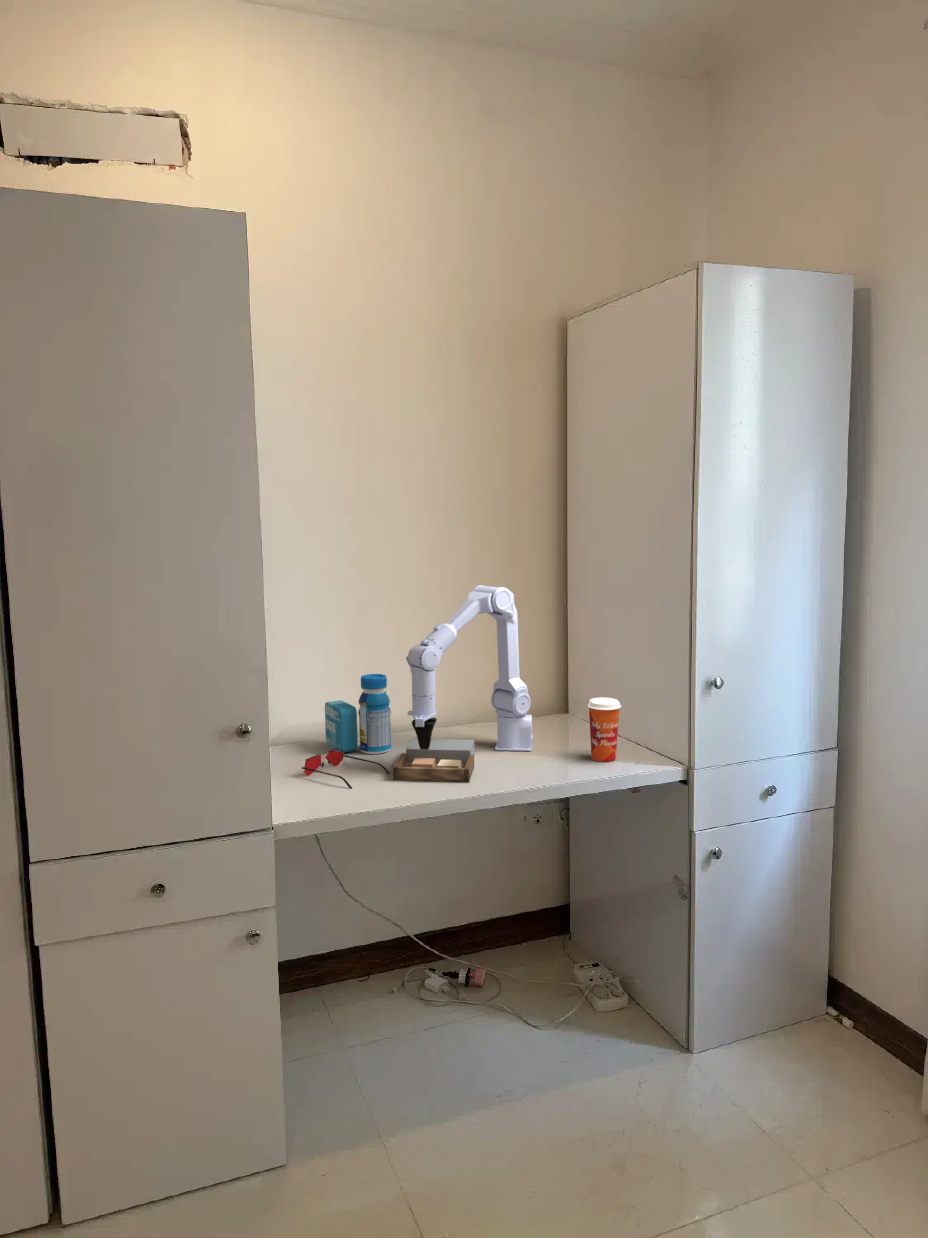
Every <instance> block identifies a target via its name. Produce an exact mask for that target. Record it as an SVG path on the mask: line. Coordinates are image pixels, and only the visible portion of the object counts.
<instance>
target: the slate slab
mask: <svg viewBox="0 0 928 1238" xmlns="http://www.w3.org/2000/svg"><path fill="white" fill-rule="evenodd" d="M405 753H407V763H413V761H414V759H415V758H435V763H439V762H440V760H461V764H466V763H467V760H468V757H469V755H474V756H475V739H463V738H462V739H453V738H452V739H450V738H449V739H448V738H431V742H430V747H429V749H420V747H419V743H418V738H412V739H411V741H410V743H409V744H408V745H407V747H406V749H405Z"/></svg>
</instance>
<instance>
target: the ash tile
mask: <svg viewBox="0 0 928 1238" xmlns="http://www.w3.org/2000/svg"><path fill="white" fill-rule="evenodd" d="M437 768H461V760H440V762H439V763H438V765H437Z"/></svg>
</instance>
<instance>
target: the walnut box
mask: <svg viewBox="0 0 928 1238" xmlns="http://www.w3.org/2000/svg"><path fill="white" fill-rule="evenodd" d="M437 765H438V763H435V768H434V767H412V763H407V753H406V752H405V753H403V752H402V753H401V754H400V755H399V757H398V759H397V760H396V761H395V763H394V765H393V767H392V781H394V780H409V782H438V783H439V782H440V783H442V782H444V783H446V782H447V783H470V782H471V778H472V774H473V772H474V769H475V754H474V755H469V757H468V760H467V763H466V764H461V768H437Z"/></svg>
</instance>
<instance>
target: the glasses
mask: <svg viewBox="0 0 928 1238" xmlns="http://www.w3.org/2000/svg"><path fill="white" fill-rule="evenodd" d="M338 749H340V748H338ZM336 750H337V749H328V750H327V751H325V752H321V753H319V754H318V753H317V754H315V755H312V756H310V757H308V758H305V760H304V766H301V770H303V772H304V774H305V775H306V777H309V776H311V775H312V774H313V773H319V774H322V775H323V774H324V775H327V776H332V777H336V778H339V779H341V780H342V781H343V782H344V784H346V786H347V787H348V788H349V789H350V788H351V789H350V790H353V789H352V788H353V787H352V785H351V784H350V783H349V782H348V781H347V780H346V779H345V778H344V777H343V776H342V775H337V774H333V773H329V772H326V771H324V772H323V771H321V770H318V769H319V768H320V767H321V768H323V767H324V766H325V762H322V757H323V756H322V755H324V754H326V756H325V757H324V758H325V759H326V760H327V764H328V765H332V766H333V767H334V768H335V767H338V766H339V765H340V764H341V762H343V760H344V758H348V759H352V760H358V761H362V762H367V763H372V764H376V765H378V766H379V767H381V768H382V769H383V770H384V771H385V773H387V775H391V774H392V773H391V772H390V771H389V770H388V769H387V768H386V767H385V766H384V765H383V764H381V763H380V762H377V761H373V760H368V759H363V758H359V757H355V756H350V755H345V753H344V752H343V750H342V749H341V750H342V752H339V751H336Z"/></svg>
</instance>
